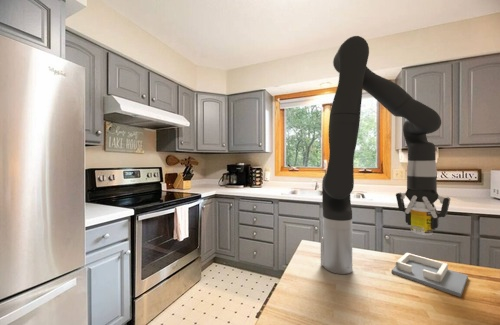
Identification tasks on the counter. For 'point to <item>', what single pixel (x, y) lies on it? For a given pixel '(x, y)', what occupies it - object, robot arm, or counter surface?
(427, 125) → the robot arm
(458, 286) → the grey board with frame
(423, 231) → the supplement bottle
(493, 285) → the counter surface
